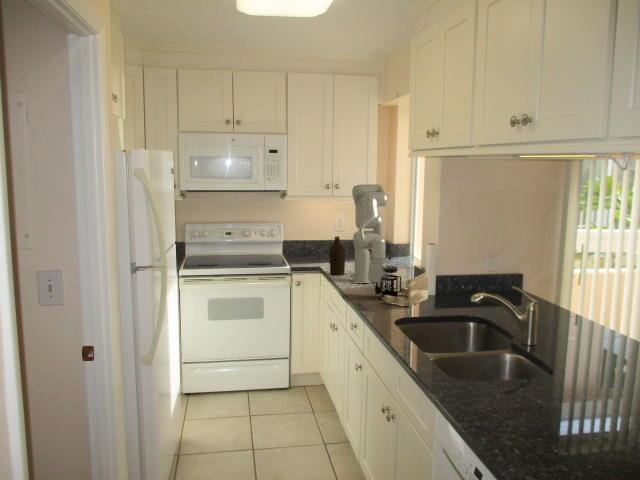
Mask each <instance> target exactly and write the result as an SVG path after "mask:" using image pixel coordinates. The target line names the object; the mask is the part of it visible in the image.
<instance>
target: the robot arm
mask: <svg viewBox="0 0 640 480" xmlns="http://www.w3.org/2000/svg"><path fill="white" fill-rule="evenodd" d="M351 193H352V200H353V202H354V206H355V207H354V208H355V209H354V210H355V215H354V216H355V226H356V228H358V231H356V232H354V233H353V235H352V236H353V238H352V239H353V248H354V273H350V275H349V277H350V278H352V280H351V282H352V281H353V282H358V283H367V282H371V283H370V284H372V285H373V286H374V292H375V293H374V294H375V295H381V277H383V278H389V277H388V275H389V273H386V272H385V271H384V270H383V269H382V268H383V267H385V266H388V265H387V263H386V245H387V244H386V239H385V238H384V237H383V217H382V216H381V213H379V207H385V206H387V205H388V196H387V193H386V191H385V190H384V188H383V186H382V185H381V184H376V183H373V184H364V183H363V184H357V185H354V186H352V190H351ZM365 229H372V230H365ZM369 250H371V251H369ZM353 282H352V283H353ZM385 284H387V281H386V280H383V281H382V286H383V285H385Z"/></svg>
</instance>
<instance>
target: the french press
mask: <svg viewBox="0 0 640 480" xmlns="http://www.w3.org/2000/svg"><path fill="white" fill-rule="evenodd" d="M385 258H388V263H389V264H388V265H387V266H385V267H383V268H382V269H383V270H384V271H385V272H386V273H388V278H383V277H381V294H380V297H383V298H384V295H388V296H394V297H399V295H398V294H399V293H400V294H401V288H402V276H401V275H396V273H398V269H399V267H398V266H396V265H391V260H392V258H394V256H393V255H385ZM383 280H386V281H387V284H385V285H382V281H383ZM398 280H399V281H398ZM395 282H396V283H395ZM398 288H399V289H398Z"/></svg>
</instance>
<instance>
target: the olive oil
mask: <svg viewBox="0 0 640 480" xmlns="http://www.w3.org/2000/svg"><path fill="white" fill-rule="evenodd" d="M340 238H341V237H340V236H334V243H332V245H331V246H330V247H329V253H328V255H329V272H330V273H329V274H330V275H331V276H335V275H339V276H343V274H344V275H345V266H346V248H345V247H344V245H343V244H342V243H341V242H340V241H341V240H340Z"/></svg>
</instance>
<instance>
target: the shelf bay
mask: <svg viewBox="0 0 640 480" xmlns="http://www.w3.org/2000/svg"><path fill="white" fill-rule="evenodd" d="M401 293H402V294H406V295H408V296H407V298H405V297H400V296H398V297H394V296H388V295H384V300H383V302H384V301H388V302H393V303H398V304H403V305H408V306H412V305H414V304H417V303H419V302H420V303H422V302H424V301H426V300H428V298H429V272H424V273H421V274H419V275H417V276H415V277H412V278H410V279H408V280H407V287H401ZM401 293H400V294H401ZM420 303H419V304H420ZM417 305H418V304H417Z"/></svg>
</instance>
